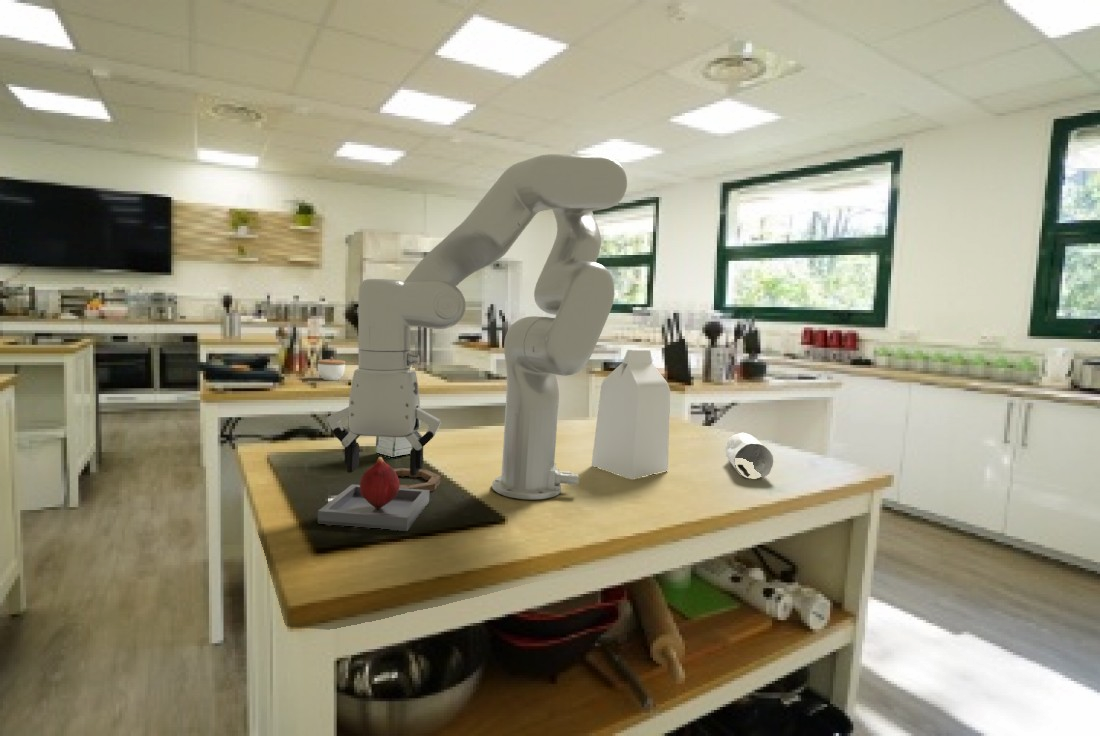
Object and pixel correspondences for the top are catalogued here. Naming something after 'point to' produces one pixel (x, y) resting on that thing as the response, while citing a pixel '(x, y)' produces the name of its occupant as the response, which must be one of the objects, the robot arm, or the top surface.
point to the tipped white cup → (749, 452)
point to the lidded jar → (331, 369)
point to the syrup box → (393, 446)
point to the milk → (633, 419)
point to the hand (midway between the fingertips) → (384, 471)
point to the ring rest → (426, 474)
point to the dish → (374, 509)
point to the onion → (379, 484)
